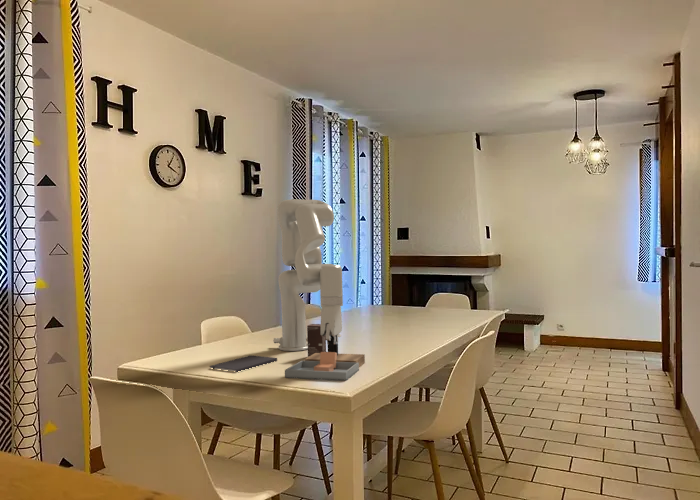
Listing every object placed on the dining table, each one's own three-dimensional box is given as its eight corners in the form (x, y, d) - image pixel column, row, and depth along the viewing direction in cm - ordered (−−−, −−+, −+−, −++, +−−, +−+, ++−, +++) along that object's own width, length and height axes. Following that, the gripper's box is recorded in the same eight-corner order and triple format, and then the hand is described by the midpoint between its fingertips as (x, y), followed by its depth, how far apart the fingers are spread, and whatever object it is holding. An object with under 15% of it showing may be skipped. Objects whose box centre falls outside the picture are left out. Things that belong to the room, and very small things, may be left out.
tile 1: (319, 363, 185) (319, 369, 185) (313, 366, 180) (314, 373, 180) (333, 364, 183) (333, 370, 183) (328, 367, 179) (329, 373, 179)
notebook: (236, 374, 186) (277, 362, 204) (236, 369, 186) (277, 357, 204) (208, 370, 192) (250, 359, 210) (208, 366, 192) (250, 355, 210)
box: (307, 358, 207) (306, 325, 207) (311, 355, 211) (311, 323, 211) (322, 358, 205) (322, 325, 205) (327, 356, 210) (326, 324, 210)
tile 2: (321, 367, 187) (319, 367, 185) (322, 352, 189) (320, 351, 187) (335, 368, 186) (334, 367, 184) (336, 353, 187) (335, 352, 186)
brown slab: (304, 367, 191) (304, 359, 191) (315, 361, 201) (315, 352, 201) (356, 369, 186) (356, 360, 185) (364, 363, 196) (364, 354, 196)
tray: (284, 377, 177) (284, 369, 177) (301, 367, 191) (301, 360, 191) (346, 380, 171) (346, 372, 171) (358, 370, 185) (358, 362, 185)
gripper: (328, 299, 199) (329, 351, 199) (313, 303, 185) (315, 359, 185) (348, 299, 197) (349, 351, 197) (335, 303, 183) (337, 360, 183)
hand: (332, 355), depth 191 cm, fingers closed
